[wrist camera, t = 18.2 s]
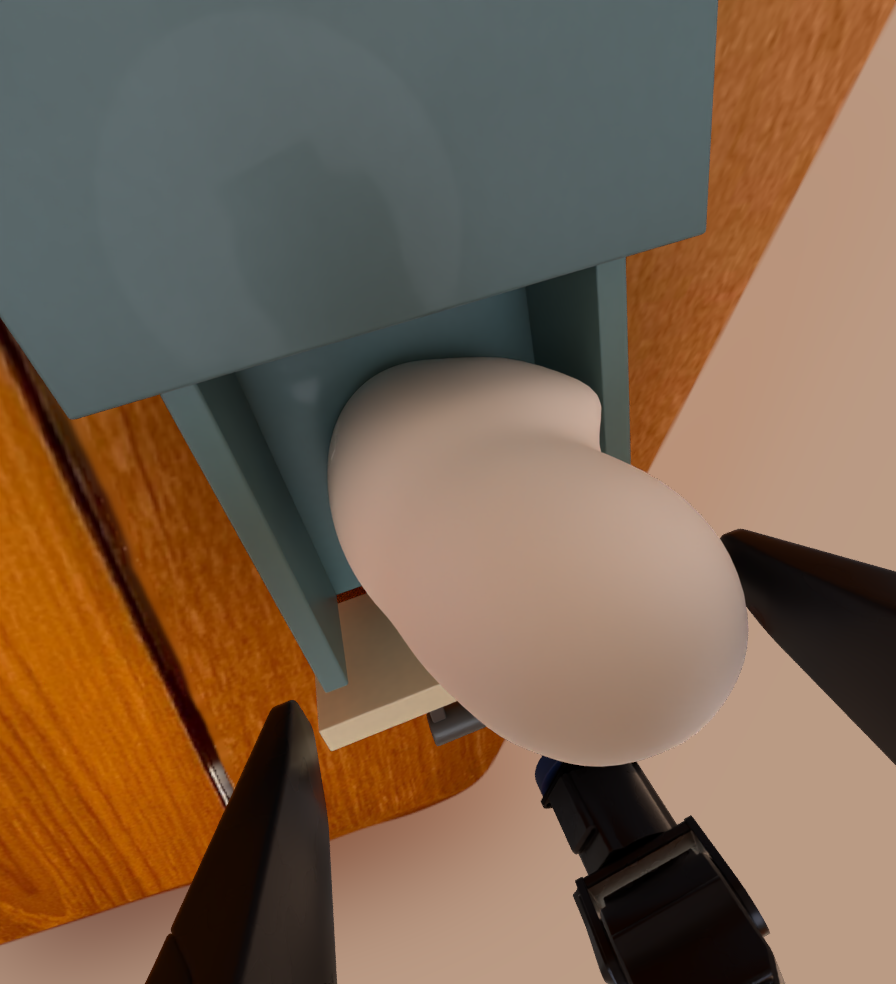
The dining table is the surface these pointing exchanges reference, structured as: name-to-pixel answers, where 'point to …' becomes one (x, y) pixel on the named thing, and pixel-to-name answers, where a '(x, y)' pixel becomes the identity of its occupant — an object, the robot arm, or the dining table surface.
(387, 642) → the drawer
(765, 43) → the dining table surface
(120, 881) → the dining table surface
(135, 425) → the dining table surface
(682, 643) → the figurine
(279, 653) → the dining table surface
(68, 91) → the cabinet
